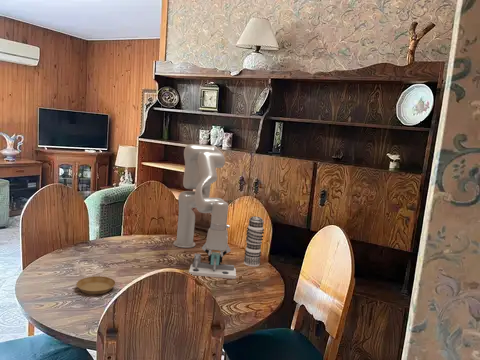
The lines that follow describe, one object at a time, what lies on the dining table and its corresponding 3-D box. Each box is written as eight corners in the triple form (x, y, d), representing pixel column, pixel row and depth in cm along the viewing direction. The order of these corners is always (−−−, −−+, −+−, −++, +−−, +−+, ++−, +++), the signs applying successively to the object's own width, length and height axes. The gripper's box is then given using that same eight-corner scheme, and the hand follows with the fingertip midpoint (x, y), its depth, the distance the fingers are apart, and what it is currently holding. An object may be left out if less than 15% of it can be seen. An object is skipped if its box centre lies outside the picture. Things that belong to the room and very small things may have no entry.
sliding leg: (210, 265, 189) (211, 252, 188) (218, 266, 189) (219, 252, 188) (209, 270, 182) (211, 257, 181) (218, 271, 182) (219, 257, 181)
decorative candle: (259, 267, 198) (264, 220, 195) (241, 264, 200) (246, 218, 197) (261, 262, 207) (266, 217, 204) (244, 259, 209) (249, 214, 206)
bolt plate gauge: (190, 267, 189) (192, 252, 189) (235, 271, 190) (236, 256, 189) (188, 274, 180) (190, 259, 179) (235, 278, 181) (237, 263, 180)
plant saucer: (102, 279, 166) (102, 273, 165) (122, 290, 156) (122, 284, 156) (69, 287, 154) (69, 281, 154) (88, 300, 145) (88, 294, 145)
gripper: (235, 226, 189) (231, 262, 191) (201, 223, 188) (198, 259, 190) (235, 230, 181) (232, 267, 184) (200, 227, 181) (196, 264, 183)
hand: (214, 263), depth 187 cm, fingers closed on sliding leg, 4 cm apart
